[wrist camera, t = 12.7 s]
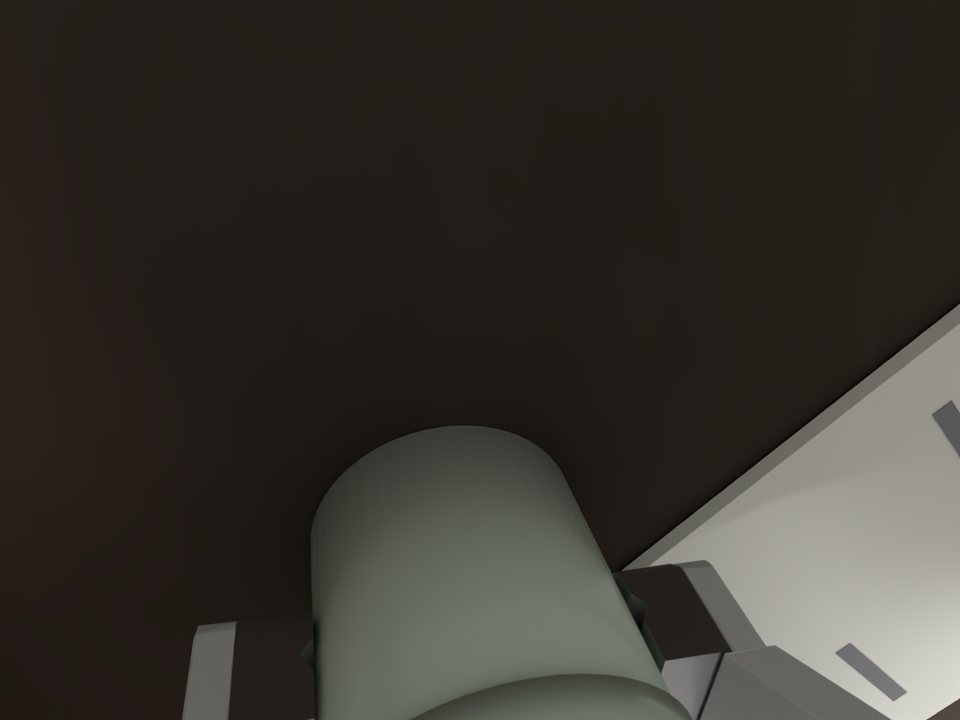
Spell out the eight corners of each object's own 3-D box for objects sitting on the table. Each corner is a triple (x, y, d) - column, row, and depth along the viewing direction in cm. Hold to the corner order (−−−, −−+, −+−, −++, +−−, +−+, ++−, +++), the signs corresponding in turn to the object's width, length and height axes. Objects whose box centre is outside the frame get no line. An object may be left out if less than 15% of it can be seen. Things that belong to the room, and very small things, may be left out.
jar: (242, 559, 11) (210, 934, 7) (448, 366, 10) (554, 671, 6) (443, 656, 14) (509, 981, 9) (626, 507, 12) (791, 797, 8)
